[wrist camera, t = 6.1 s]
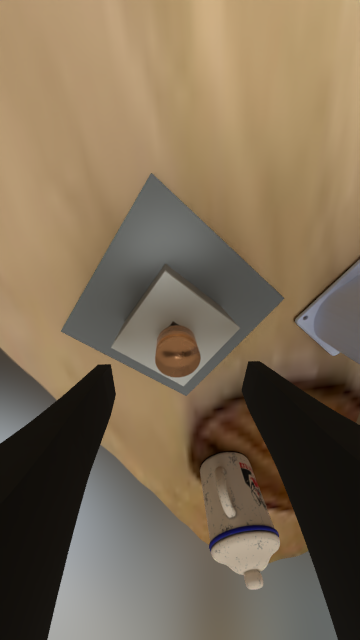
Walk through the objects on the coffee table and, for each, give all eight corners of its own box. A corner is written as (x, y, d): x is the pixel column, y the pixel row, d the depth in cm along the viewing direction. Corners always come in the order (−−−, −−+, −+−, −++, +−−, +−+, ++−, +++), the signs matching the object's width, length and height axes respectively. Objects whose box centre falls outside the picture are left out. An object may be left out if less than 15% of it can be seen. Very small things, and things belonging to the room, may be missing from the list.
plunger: (168, 282, 14) (169, 306, 9) (211, 314, 16) (234, 351, 11) (136, 326, 16) (120, 368, 10) (179, 351, 17) (184, 400, 12)
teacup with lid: (254, 470, 31) (299, 586, 21) (207, 484, 32) (228, 603, 22) (238, 433, 26) (287, 560, 16) (184, 451, 27) (195, 583, 17)
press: (151, 174, 13) (143, 137, 8) (282, 297, 18) (322, 315, 13) (62, 329, 17) (26, 360, 13) (185, 393, 22) (191, 432, 18)
